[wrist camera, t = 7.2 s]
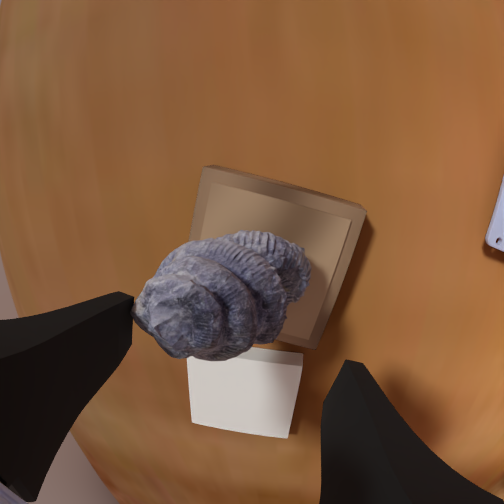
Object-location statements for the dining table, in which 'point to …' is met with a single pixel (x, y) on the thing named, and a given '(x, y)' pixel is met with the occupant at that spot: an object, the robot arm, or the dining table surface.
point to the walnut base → (285, 235)
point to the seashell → (222, 294)
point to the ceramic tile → (246, 391)
